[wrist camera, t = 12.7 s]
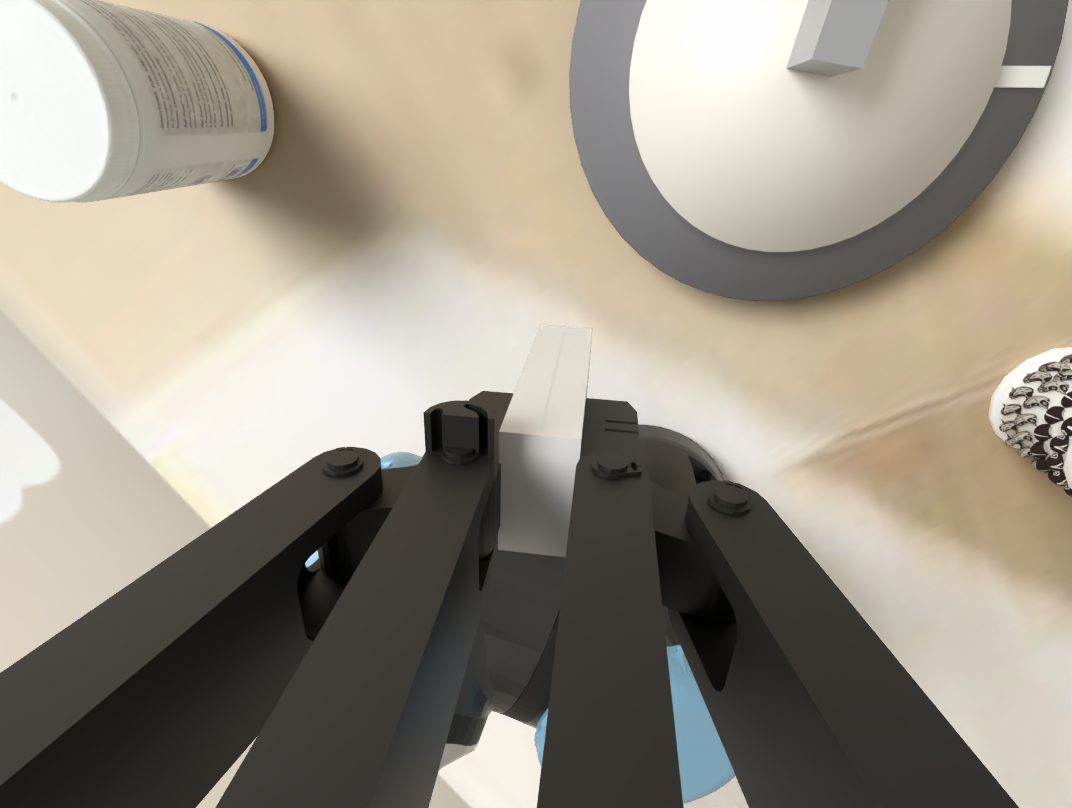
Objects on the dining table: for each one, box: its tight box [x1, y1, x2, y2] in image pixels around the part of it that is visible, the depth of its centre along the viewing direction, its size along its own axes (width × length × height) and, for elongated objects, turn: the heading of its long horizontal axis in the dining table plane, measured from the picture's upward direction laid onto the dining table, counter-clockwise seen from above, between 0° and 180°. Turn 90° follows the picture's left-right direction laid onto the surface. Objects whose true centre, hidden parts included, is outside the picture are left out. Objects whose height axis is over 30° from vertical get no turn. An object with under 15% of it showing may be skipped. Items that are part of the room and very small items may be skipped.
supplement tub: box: [0, 0, 274, 203], centre depth 33 cm, size 10×10×15 cm
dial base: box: [569, 0, 1068, 301], centre depth 33 cm, size 26×26×3 cm
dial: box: [629, 0, 1012, 252], centre depth 27 cm, size 24×19×7 cm
